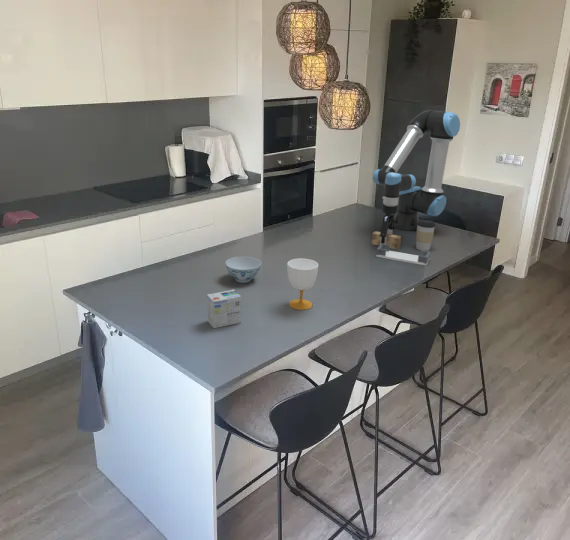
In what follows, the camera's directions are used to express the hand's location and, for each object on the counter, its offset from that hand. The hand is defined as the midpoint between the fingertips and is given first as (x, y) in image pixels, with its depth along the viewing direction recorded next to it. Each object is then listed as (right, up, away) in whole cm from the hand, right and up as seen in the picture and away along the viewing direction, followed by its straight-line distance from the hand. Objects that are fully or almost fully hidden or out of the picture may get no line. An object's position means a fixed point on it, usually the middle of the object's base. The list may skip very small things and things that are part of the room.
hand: (385, 245), depth 276 cm
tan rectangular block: (0, 0, 0) cm, 0 cm away
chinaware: (-69, -17, -47) cm, 86 cm away
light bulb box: (-73, -32, -83) cm, 115 cm away
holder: (+5, -7, -16) cm, 18 cm away
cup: (-46, -26, -68) cm, 86 cm away
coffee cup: (+19, -2, -2) cm, 19 cm away
